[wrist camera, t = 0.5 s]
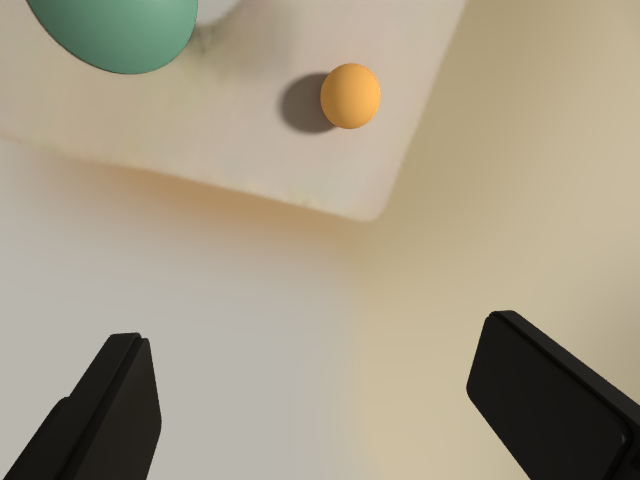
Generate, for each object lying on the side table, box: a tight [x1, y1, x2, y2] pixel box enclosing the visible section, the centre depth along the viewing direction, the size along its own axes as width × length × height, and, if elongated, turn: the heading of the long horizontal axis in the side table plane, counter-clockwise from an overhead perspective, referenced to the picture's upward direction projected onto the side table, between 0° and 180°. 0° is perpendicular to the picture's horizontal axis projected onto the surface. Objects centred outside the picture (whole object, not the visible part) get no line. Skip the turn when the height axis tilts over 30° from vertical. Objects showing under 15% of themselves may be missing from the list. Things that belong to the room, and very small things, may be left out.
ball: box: [320, 63, 381, 129], centre depth 29 cm, size 6×6×6 cm
